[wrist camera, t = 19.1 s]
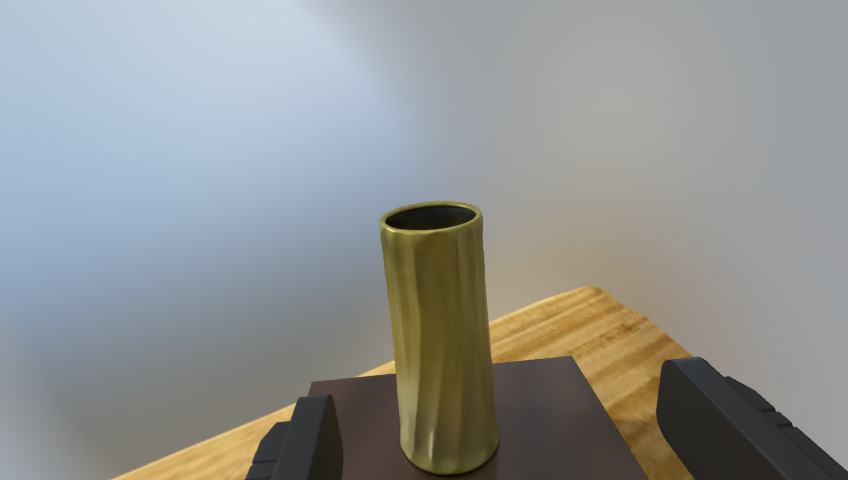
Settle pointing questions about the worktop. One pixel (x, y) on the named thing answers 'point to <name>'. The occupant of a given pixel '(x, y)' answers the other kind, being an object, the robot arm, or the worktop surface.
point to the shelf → (517, 420)
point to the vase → (440, 334)
